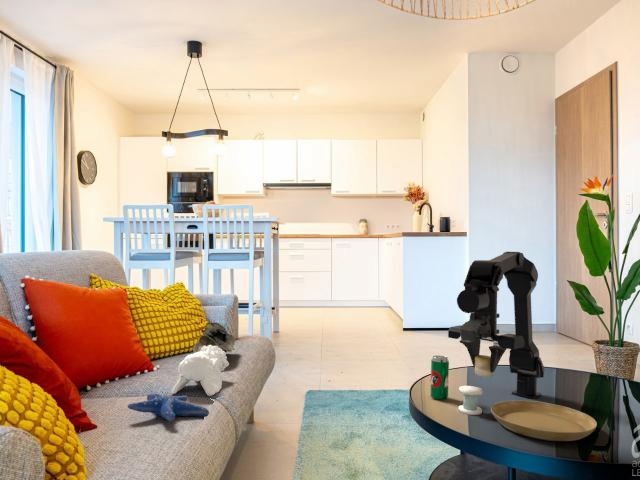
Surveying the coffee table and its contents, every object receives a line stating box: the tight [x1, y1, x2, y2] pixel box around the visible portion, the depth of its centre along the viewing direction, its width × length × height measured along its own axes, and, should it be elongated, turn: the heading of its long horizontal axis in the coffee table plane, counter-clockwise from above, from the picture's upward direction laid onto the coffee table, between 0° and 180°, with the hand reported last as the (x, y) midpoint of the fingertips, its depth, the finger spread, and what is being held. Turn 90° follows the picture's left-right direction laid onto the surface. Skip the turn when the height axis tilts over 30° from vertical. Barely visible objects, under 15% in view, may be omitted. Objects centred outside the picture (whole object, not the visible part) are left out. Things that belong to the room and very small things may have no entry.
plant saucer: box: [490, 399, 598, 442], centre depth 124 cm, size 24×24×3 cm
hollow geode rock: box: [192, 322, 237, 354], centre depth 186 cm, size 28×13×15 cm
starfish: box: [127, 393, 210, 422], centre depth 124 cm, size 19×19×5 cm
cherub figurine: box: [171, 345, 230, 397], centre depth 149 cm, size 13×12×20 cm
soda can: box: [429, 354, 450, 401], centre depth 145 cm, size 5×5×12 cm
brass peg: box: [474, 354, 494, 377], centre depth 127 cm, size 4×4×4 cm
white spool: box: [458, 385, 483, 416], centre depth 134 cm, size 6×6×6 cm
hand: (483, 370), depth 128 cm, fingers closed on brass peg, 4 cm apart
